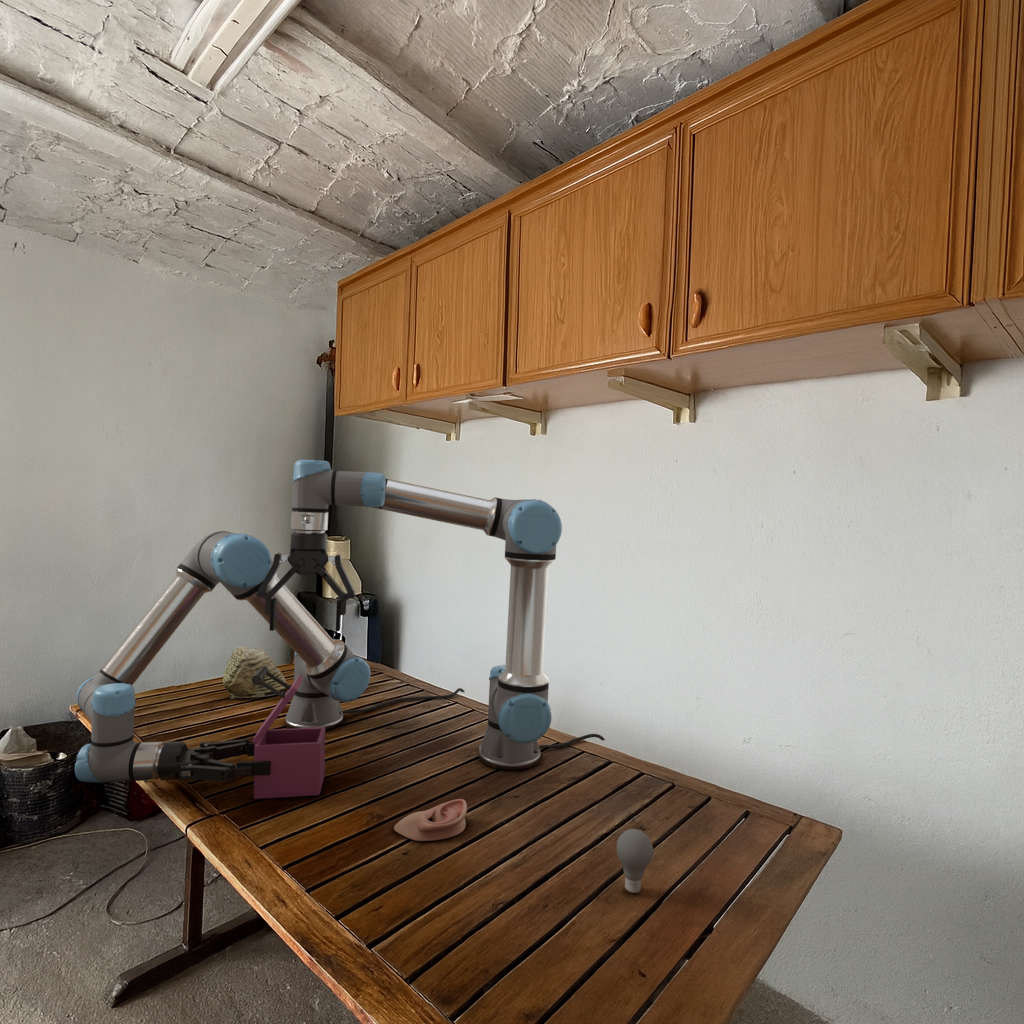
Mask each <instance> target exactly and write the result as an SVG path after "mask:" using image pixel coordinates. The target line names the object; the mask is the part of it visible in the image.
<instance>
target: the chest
mask: <svg viewBox="0 0 1024 1024" xmlns="http://www.w3.org/2000/svg"><path fill="white" fill-rule="evenodd" d="M325 756H326V730H325V727H319V728H296V729H289V728H275V729H268V730H267V732H266V733H265V734H264V736H263V737H262V738H261V740H260V741H259V742H258V744H255V746H254V756H253V758H254V759H253V761H271V767H270V775H257V776H253V800H260V799H261V800H262V799H277V798H295V797H296V798H297V797H310V796H320V794H321V791H322V787H323V782H324V779H325V773H326V772H325V771H326V769H325V768H326V757H325Z"/></svg>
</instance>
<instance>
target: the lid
mask: <svg viewBox="0 0 1024 1024" xmlns="http://www.w3.org/2000/svg"><path fill="white" fill-rule="evenodd" d="M265 675H267V676H268V677H270V678H271V679H273V680H275V681H276V682H278V683H279V684H281V685H282V686H284V687H285V688H286V691H285V692H283V693H281V692H280V691H278V690H277V689H275V688H274V687H272V686H271V685H269V684H268V683H266V682H264V681H263V680H262V679H263V678H264V677H265ZM303 679H304V677H303V676H301V675H299V676H298V677H297V679H296V680H295V681H294V680H293V683H292V684H291V685H290V684H288V683H287V682H286V683H285V682H284V681H282V680H281V679H279V678H278V677H276V676H275V675H273V674H271V673H270V672H268V668H267V667H266V666H262V667H261V668H260V669H259V670H258V671H257V672H256V674H255V675H254V676H253V677H252V682H253V683H254V684H259V683H260V684H261V685H263V686H264V687H266V688H267V689H269V690H270V691H272V692H273V693H275V694H276V695H277V696H278V697H280V698H281V699H280V700H279V701H278V703H277V704H276V706H275V707H274V708H273V709H272V711H271V712H270V714H268V716H267V717H266V719H265V720H264V721H263V723H262V724H261V726H260V727H259V728H258V730H257V732H256V734H255V735H254V737H253V738H252V740H251V741H252V742H251V743H255V744H258V742H259V741H260V740H261V738H262V737H263V736H264V734H265V733H266V732H267V730H270V728H271V726H272V725H273V724H274V722H275V721H276V720H277V718H278V717H279V716H280V714H282V712H283V711H284V709H285V708H286V706H287V705H288V704H289V702H290V701H292V699H293V696H294V694H295V693H296V692H297V690H298V688H299V686H300V685H301V683H302V681H303Z"/></svg>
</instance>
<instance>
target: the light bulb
mask: <svg viewBox="0 0 1024 1024" xmlns="http://www.w3.org/2000/svg"><path fill="white" fill-rule="evenodd" d="M615 849H616V854H617V857H618V859H619V861H620V863H621V865H622V867H623V873H624V874H623V875H624V876H625V878H624V888H625V890H627V891H628V892H630V893H634V894H635V893H639V892H640V891H641V889H642V887H641V886H642V879H643V877H644V875H645V871H646V868H647V867H648V866H649V864H650V863H651V861H652V859H653V855H654V847H653V843H652V841H651V838H649V836H648V835H647V834H646V833H645V832H643V831H642V830H641V829H636V828H629V829H627V830H625V831H623V832H622V833H621V834H620V835H619V837H618V839H617V841H616V847H615Z"/></svg>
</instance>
